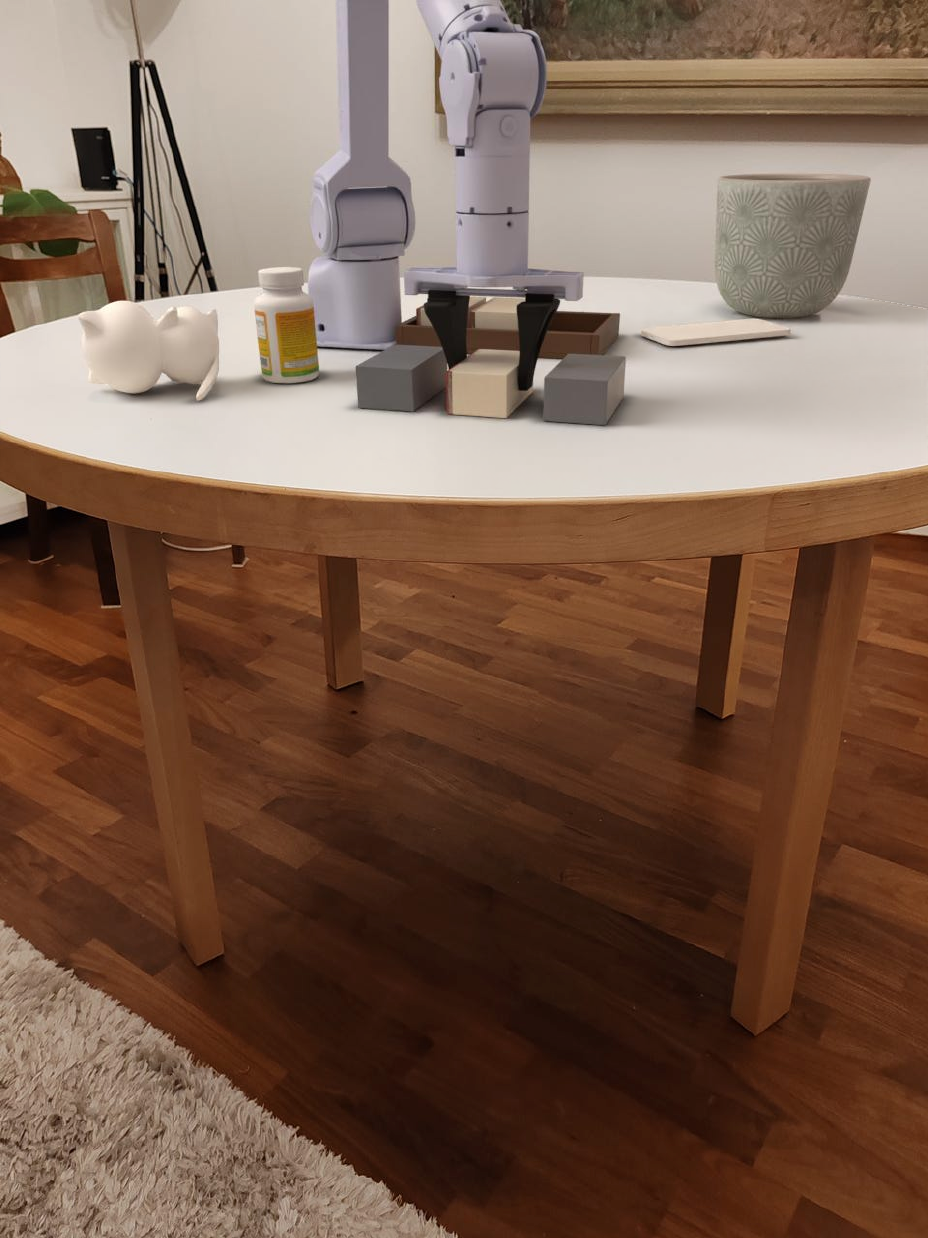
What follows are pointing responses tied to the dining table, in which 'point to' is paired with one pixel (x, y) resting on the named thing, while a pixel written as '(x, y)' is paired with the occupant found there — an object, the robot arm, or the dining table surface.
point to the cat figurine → (150, 346)
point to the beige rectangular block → (485, 384)
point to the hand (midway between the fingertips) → (492, 386)
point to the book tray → (561, 339)
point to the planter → (786, 240)
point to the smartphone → (714, 332)
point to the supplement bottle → (286, 327)
